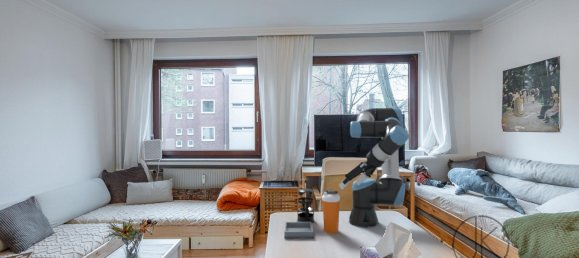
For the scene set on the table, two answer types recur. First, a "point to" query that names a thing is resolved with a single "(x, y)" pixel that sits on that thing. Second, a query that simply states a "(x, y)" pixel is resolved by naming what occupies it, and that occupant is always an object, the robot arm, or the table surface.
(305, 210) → the french press
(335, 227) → the shaker bottle
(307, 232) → the tray
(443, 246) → the table surface
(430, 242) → the table surface
